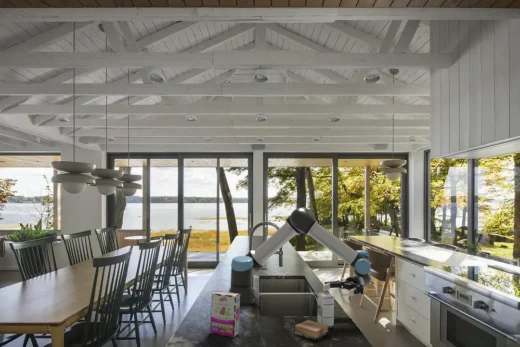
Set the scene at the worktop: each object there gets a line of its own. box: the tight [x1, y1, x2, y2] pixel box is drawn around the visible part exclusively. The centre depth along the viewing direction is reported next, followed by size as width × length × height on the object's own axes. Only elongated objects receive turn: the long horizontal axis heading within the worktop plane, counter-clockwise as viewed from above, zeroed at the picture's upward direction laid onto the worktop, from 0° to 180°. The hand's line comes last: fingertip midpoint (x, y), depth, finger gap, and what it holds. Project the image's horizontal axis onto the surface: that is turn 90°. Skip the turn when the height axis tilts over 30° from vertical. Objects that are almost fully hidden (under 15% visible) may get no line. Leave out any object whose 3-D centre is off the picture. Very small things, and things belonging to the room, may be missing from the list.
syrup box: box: [316, 291, 335, 326], centre depth 163 cm, size 6×6×14 cm
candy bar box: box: [209, 290, 241, 338], centre depth 150 cm, size 11×5×16 cm, turn 69°
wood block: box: [294, 319, 329, 338], centre depth 153 cm, size 10×10×4 cm
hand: (336, 290), depth 171 cm, fingers open, 13 cm apart
